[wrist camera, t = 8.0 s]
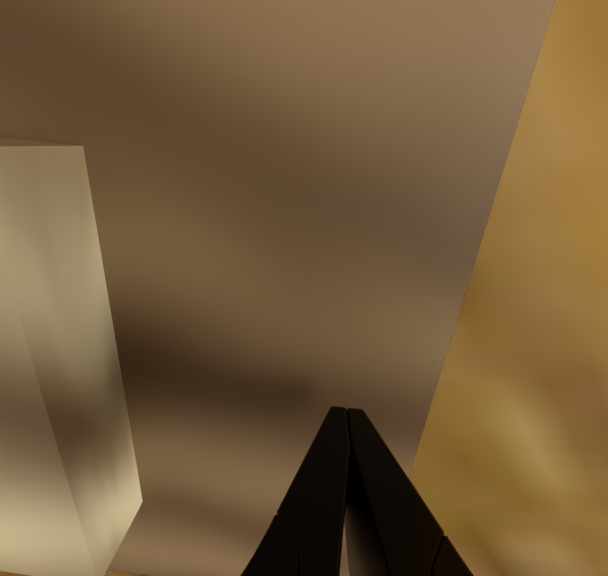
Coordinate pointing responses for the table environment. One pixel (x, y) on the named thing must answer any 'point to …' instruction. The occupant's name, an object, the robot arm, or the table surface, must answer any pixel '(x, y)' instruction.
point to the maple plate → (58, 374)
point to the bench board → (271, 223)
